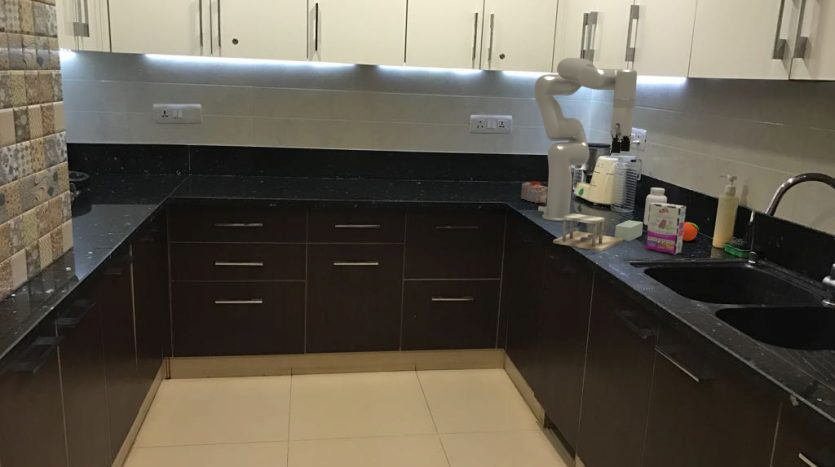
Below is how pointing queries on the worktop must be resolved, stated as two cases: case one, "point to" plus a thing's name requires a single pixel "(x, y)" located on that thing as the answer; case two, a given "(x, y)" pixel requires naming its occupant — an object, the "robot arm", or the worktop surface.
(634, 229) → the pale green block
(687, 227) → the clementine
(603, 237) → the overhang stand
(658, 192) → the pill bottle
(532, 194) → the food item
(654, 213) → the candy bar box
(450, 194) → the worktop surface
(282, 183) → the worktop surface
